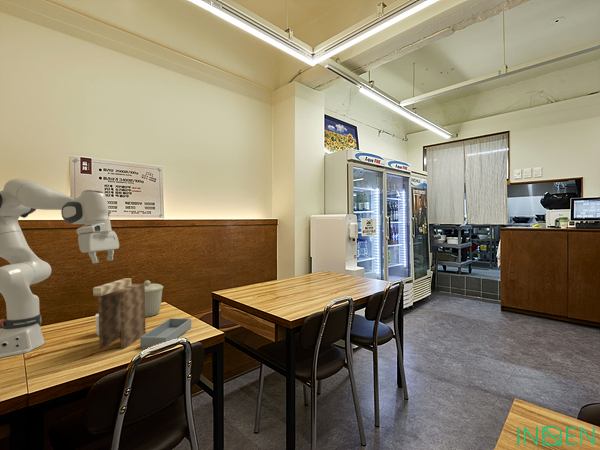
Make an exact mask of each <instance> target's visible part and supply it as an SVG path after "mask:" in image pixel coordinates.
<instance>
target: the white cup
mask: <svg viewBox="0 0 600 450" xmlns="http://www.w3.org/2000/svg"><path fill="white" fill-rule="evenodd" d="M94 316H95V317H94V321H95V328H96V329H95V330H96V335H97V336H98V337H99V313H96V314H95V315H94Z"/></svg>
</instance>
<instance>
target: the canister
mask: <svg viewBox="0 0 600 450" xmlns="http://www.w3.org/2000/svg"><path fill="white" fill-rule="evenodd" d="M143 284H145V318H149V317H154V316H156V315H158V314H159V312H160V311H161V306H162V297H163V289H164V286H163V285H162V284H159V283H151V281H150V280H145V281H144V282H143Z"/></svg>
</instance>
